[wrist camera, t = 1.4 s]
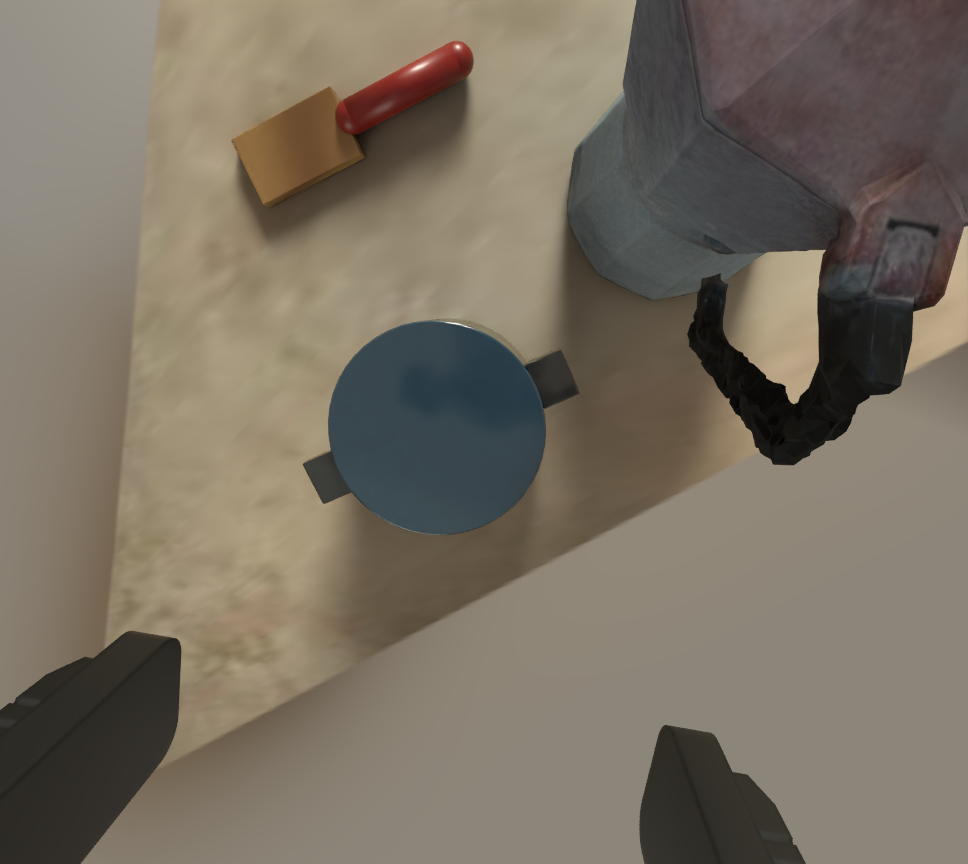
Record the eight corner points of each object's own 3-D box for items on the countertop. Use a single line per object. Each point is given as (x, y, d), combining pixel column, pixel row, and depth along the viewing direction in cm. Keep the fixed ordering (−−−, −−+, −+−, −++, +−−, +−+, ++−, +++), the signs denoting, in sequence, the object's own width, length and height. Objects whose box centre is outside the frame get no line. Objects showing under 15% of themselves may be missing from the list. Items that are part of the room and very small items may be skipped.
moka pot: (814, 13, 24) (2140, -1303, 4) (750, 386, 27) (1348, 585, 8) (581, 1, 24) (842, -1262, 5) (545, 370, 28) (615, 520, 8)
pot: (298, 378, 28) (257, 391, 24) (525, 272, 27) (526, 265, 22) (379, 539, 30) (356, 578, 25) (599, 447, 28) (614, 473, 24)
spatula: (269, 207, 27) (256, 202, 25) (237, 143, 26) (222, 134, 25) (487, 94, 25) (485, 82, 24) (458, 24, 25) (455, 8, 23)
